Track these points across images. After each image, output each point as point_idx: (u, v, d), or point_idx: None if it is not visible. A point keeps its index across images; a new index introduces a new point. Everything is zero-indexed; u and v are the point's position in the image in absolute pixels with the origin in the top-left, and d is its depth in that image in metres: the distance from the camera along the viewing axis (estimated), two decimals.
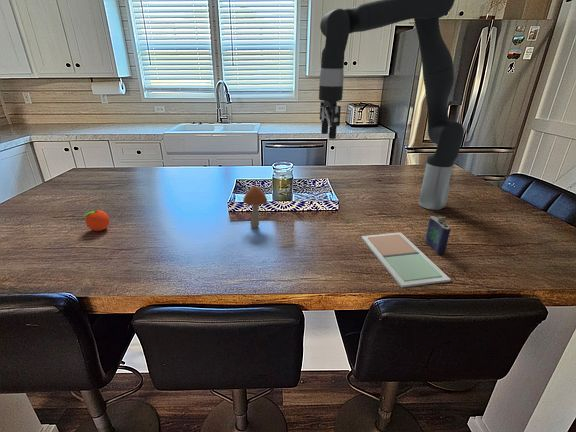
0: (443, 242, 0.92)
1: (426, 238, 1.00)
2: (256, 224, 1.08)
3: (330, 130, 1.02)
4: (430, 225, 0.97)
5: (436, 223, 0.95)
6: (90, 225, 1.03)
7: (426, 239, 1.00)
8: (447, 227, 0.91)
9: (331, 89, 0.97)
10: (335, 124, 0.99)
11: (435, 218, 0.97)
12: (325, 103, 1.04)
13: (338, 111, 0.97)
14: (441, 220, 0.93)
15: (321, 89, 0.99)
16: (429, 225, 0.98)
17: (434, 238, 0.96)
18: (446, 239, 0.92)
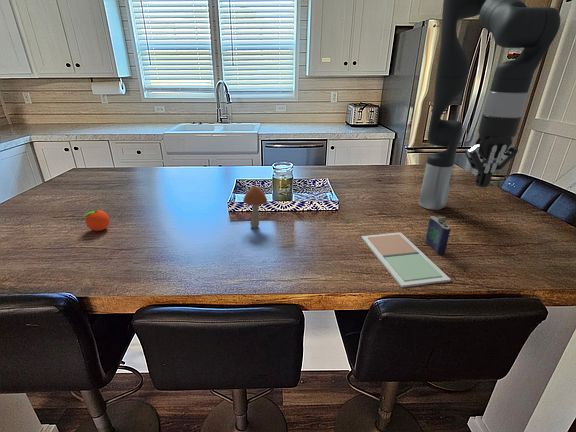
0: (443, 242, 0.92)
1: (426, 238, 1.00)
2: (256, 224, 1.08)
3: (489, 176, 0.76)
4: (430, 225, 0.97)
5: (436, 223, 0.95)
6: (90, 225, 1.03)
7: (426, 239, 1.00)
8: (447, 227, 0.91)
9: None
10: None
11: (435, 218, 0.97)
12: (492, 141, 0.72)
13: None
14: (441, 220, 0.93)
15: (518, 122, 0.68)
16: (429, 225, 0.98)
17: (434, 238, 0.96)
18: (446, 239, 0.92)
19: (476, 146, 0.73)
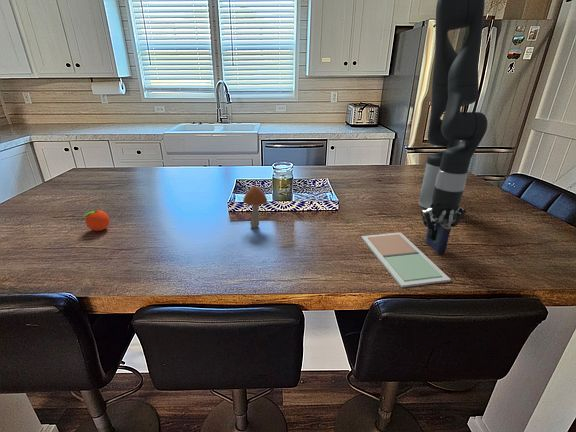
0: (443, 242, 0.92)
1: (426, 238, 1.00)
2: (256, 224, 1.08)
3: None
4: None
5: None
6: (90, 225, 1.03)
7: (426, 239, 1.00)
8: (447, 227, 0.91)
9: None
10: None
11: None
12: (442, 206, 0.91)
13: None
14: None
15: (460, 194, 0.87)
16: None
17: None
18: (446, 239, 0.92)
19: (430, 209, 0.91)
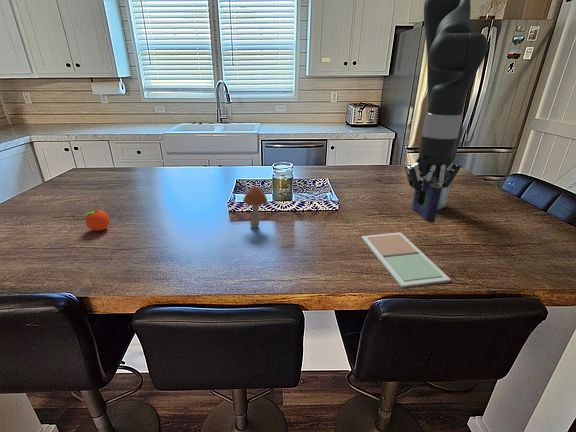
0: (433, 205, 0.75)
1: (413, 203, 0.83)
2: (256, 224, 1.08)
3: None
4: None
5: None
6: (90, 225, 1.03)
7: (413, 205, 0.83)
8: (438, 186, 0.74)
9: None
10: None
11: None
12: (431, 160, 0.73)
13: None
14: (431, 178, 0.76)
15: (453, 143, 0.70)
16: None
17: None
18: (436, 201, 0.74)
19: (416, 164, 0.74)
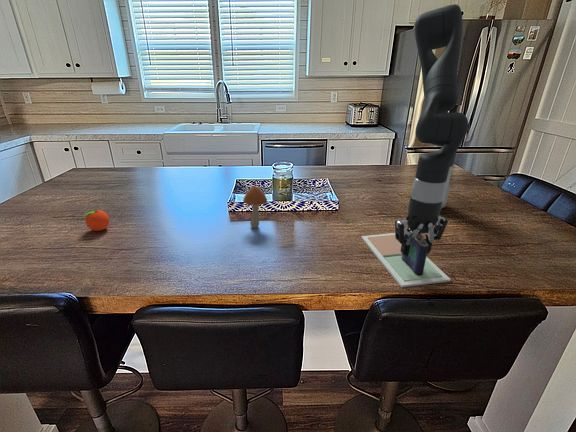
0: (421, 260, 0.82)
1: (403, 255, 0.89)
2: (256, 224, 1.08)
3: (430, 245, 0.84)
4: None
5: (413, 239, 0.84)
6: (90, 225, 1.03)
7: (403, 256, 0.90)
8: (425, 244, 0.81)
9: None
10: None
11: None
12: (419, 219, 0.80)
13: None
14: (418, 236, 0.83)
15: (438, 206, 0.76)
16: None
17: (411, 255, 0.86)
18: (424, 257, 0.81)
19: (405, 221, 0.80)
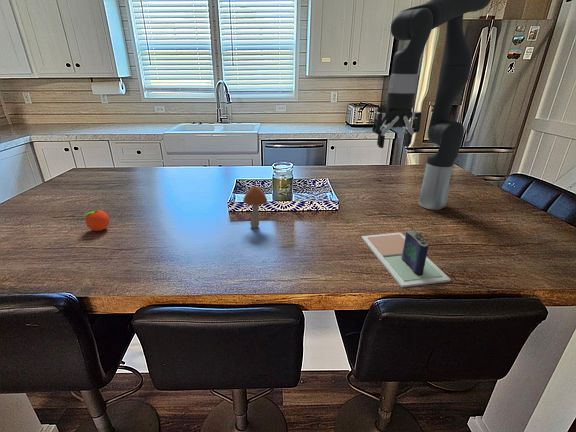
0: (421, 260, 0.82)
1: (403, 255, 0.89)
2: (256, 224, 1.08)
3: (410, 138, 0.97)
4: (407, 240, 0.87)
5: (413, 239, 0.84)
6: (90, 225, 1.03)
7: (403, 256, 0.90)
8: (425, 244, 0.81)
9: None
10: None
11: (412, 233, 0.86)
12: (395, 112, 0.93)
13: None
14: (418, 236, 0.83)
15: (411, 97, 0.89)
16: (406, 240, 0.87)
17: (411, 255, 0.86)
18: (424, 257, 0.81)
19: (384, 113, 0.93)
